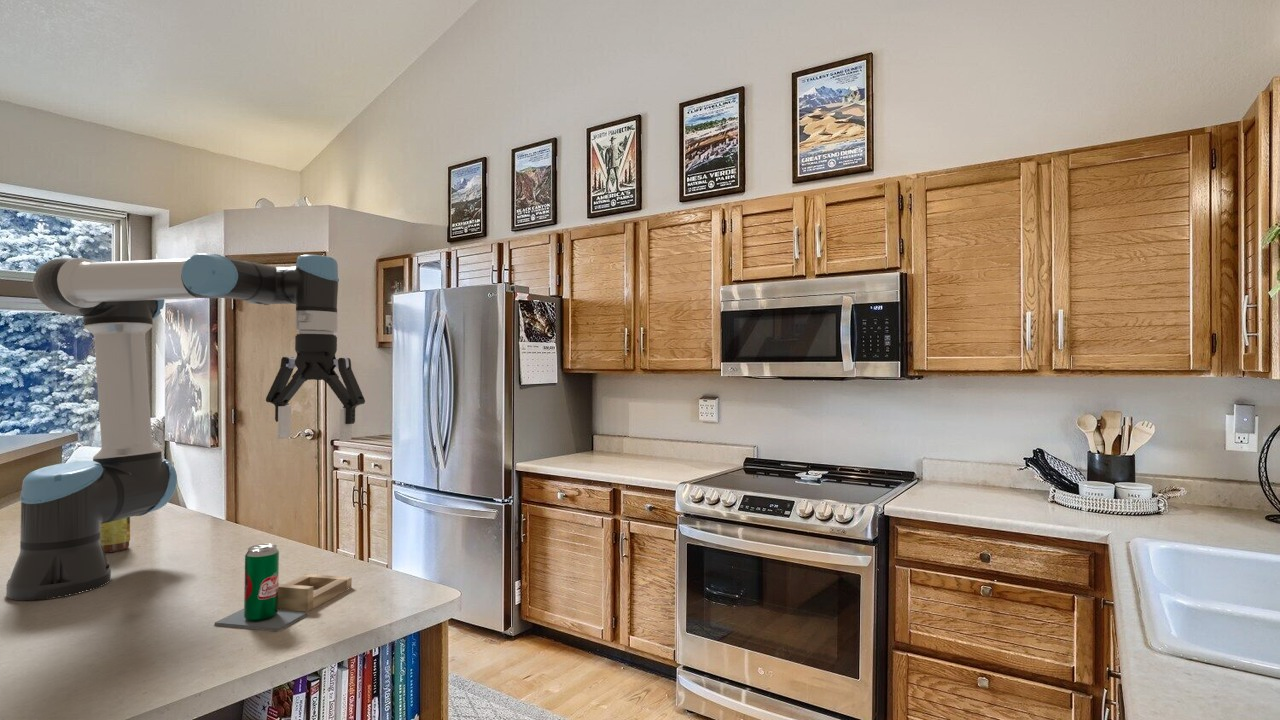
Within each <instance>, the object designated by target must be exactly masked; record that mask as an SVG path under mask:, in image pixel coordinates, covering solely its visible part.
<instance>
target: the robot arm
mask: <svg viewBox="0 0 1280 720" xmlns="http://www.w3.org/2000/svg"><path fill="white" fill-rule="evenodd" d="M338 265H339V264H338V260H336V259H335V258H333V257H331V256H327V255H320V254H303V255H298V256H297V258H296V263H295V265H294V266H272V265H267V264H264V263H263V264H261V263H257V262H252V261H246V260H241V259H237V258H233V257H232V258H231V257H227V256H224V255H221V254H216V253H215V254H214V253H202V252H201V253H195V254H192V256H191V257H187V258H185V257H184V258H167V259H163V258H161V259H147V260H146V259H145V260H123V261H104V262H103V261H97V260H96V261H95V260H92V259H89V258H85V257H60V258H55V259H51V260H48V261H46V262H44V263H43V264H42V265H41V266H39V267H38V269H37V270H36V272H35V274H34V275H33V279H32V289H33V291H34V294H35V296H36V297H37V299H38V301H40V302H41V303H42V304H43V305H44V306H46V307H47V308H48V309H50V310H52V311H55V312H56V313H60V314H63V315H67V316H68V315H69V316H75V317H76V316H77V317H83V328H84V329H85V330H86V331H88V332H89V333H90V334H92V335H93V338H94V354H95V369H96V381H97V396H98V397H97V398H98V399H97V400H98V413H99V415H98V416H99V424H100V425H99V427H100V442H101V449H100V450H99V451H98V452H97V453H96V454H95V455H94V456H92V457H93V458H92V460H80V461H78V460H77V461H70V462H66V463H65V462H64V463H57V464H56V463H55V464H53V465H48V466H45V467H40V468H38V469H36V470H33V471H30V472H29V473H28V474H27V475H26V476H25V477H24V479H22V485H21V491H20V496H19V500H20V502H21V503H20V505H21V506H20V537H19V538H20V541H19V542H20V546H19V555H18V557H17V559H16V561H15V564H14V567H13V569H12V571H11V574H10V576H9V577H10V578H9V579H8V580H7V582H6V588H5V589H6V592H5V595H6V597H7V598H9V599H10V600H14V599H16V600H15V601H36V600H35V599H41V600H48V599H47V598H50V599H54V598H53V597H57V598H59V597H58V596H63V597H66V596H65V595H69V594H73V595H76V594H75V593H78V594H80V593H79V592H82V591H86V590H89V591H91V590H90V589H92V590H94V589H93V588H95V589H97V588H96V587H98V588H99V586H100V587H102V586H101V585H103V584H105V583H106V584H108V583H109V582H110V581H111V580H110V579H112V578H111V577H112V568H111V566H110V564H109V562H108V559H107V556H106V553H104V550H103V548H102V546H101V542H100V529H101V524H103V523H107V522H112V521H116V520H120V519H124V518H128V517H130V518H132V517H138V516H139V517H141V516H144V515H146V514H149V513H151V512H155V511H157V510H160V509H162V508H163V507H164V506H166V505H167V504H168V502H169V501H170V500H171V499H172V498H173V496H174V494H175V492H176V489H177V485H178V474H177V471H176V468H175V467H174V466H172V463H171V461H169V460H168V459H165V458H163V457H162V456H163V455H162V452H163V451H162V449H161V448H160V447H158V446H157V445H155V444H154V443H153V437H152V436H153V433H152V422H151V421H152V420H151V408H150V407H151V406H150V392H149V391H150V390H149V389H150V388H149V378H148V377H149V376H148V363H147V348H146V337H145V335H146V334H147V332H149V331H150V330H151V329H152V328H153V325H154V324H153V320H154V319H156V318H157V317H158V316H160V314H161V310H163V309H164V305H165V300H183V299H232V300H239V301H245V302H248V303H250V304H254V305H255V304H256V305H265V306H266V305H267V306H268V305H284V304H285V305H288V304H289V305H290V304H293V305H295V331H297V332H298V333H296V335H295V336H294V345H295V346H294V350H295V352H296V357H293V356H282V358H281V360H280V367H279V370H278V372H277V374H276V376H275V378H274V380H273V382H272V385H271V387H270V389H269V391H268V393H267V395H266V397H265V402H266V403H269V404H273V405H274V407H275V408H274V409H275V410H274V411H275V412H274V414H275V415H274V421H275V422H276V423H277V440H283V439H290V438H291V428H292V427H291V425H292V424H291V417H292V405H290V403H289V402H290V401H291V399H292V398H293V397H294V396H295V395H296V393H297V392H298V391H299V389H300V388H301V387H302V386H303V385H304V383H305V382H307V381H312V380H314V381H324V382H325V383H326V384H327V385H328V386H329V387H330V389H331V390H332V392H333V393H334V395H335V396H336V397H337V398H338V400H339V401H340V402H341V405H343V406H342V407H340V408H339V442H347V441H352V425H353V424H355V422H356V408H357V407H358V406H360V405H364V404H365V403H366V399H365V398H364V395H363V392H362V390H361V388H360V385H359V383H358V381H357V379H356V376H355V374H354V372H353V370H352V361H351V358H350V357H339V358H337V357H336V353H337V350H338V336H337V335H336V334H335V333H337V332H338V294H339V292H338V291H339V281H340V278H339V268H338V267H339V266H338ZM295 367H296V369H297V370H296V371H295V372H294V373H293V371H294V368H295ZM336 368H337V369H338V373H339V374H340V376H339V375H338V373H336V371H335V369H336ZM340 377H341V380H342V381H341V380H340ZM290 378H291V379H290ZM108 581H109V582H108ZM107 582H108V583H107ZM106 584H105V585H106ZM103 586H104V585H103ZM86 592H87V591H86ZM82 593H83V592H82ZM69 596H70V595H69Z"/></svg>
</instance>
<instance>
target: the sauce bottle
mask: <svg viewBox="0 0 1280 720" xmlns="http://www.w3.org/2000/svg"><path fill="white" fill-rule="evenodd" d="M130 540H131V517H128V518H124V519H120V520H116V521H112V522H107V523H103V524H101V529H100V542H101V546H102V548H103V550H104V553H105V554H107V553H109V552H110V553H115V552H120V551H124V550H126V549H128V548H129V547H130Z"/></svg>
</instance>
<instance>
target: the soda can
mask: <svg viewBox="0 0 1280 720" xmlns="http://www.w3.org/2000/svg"><path fill="white" fill-rule="evenodd" d="M277 546H278V545H277V544H275V543H259V544H254V545H252V546H249V547H248V548H247V551H246V553H245V555H244V585H243V586H244V592H243V593H244V595H243V597H244V598H243V601H244V602H243V609H244V618H245V619H246V620H248V621H251V622H259V621H265V620H268V619H271V618H273V617H274V616H275V615H276V614H277V612H278V610H279V609H278V584H279V578H280V577H279V575H280V572H279V571H280V569H279V568H280V551H279V549H278V548H277Z"/></svg>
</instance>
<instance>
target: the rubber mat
mask: <svg viewBox="0 0 1280 720" xmlns="http://www.w3.org/2000/svg"><path fill="white" fill-rule="evenodd" d="M307 616H308V612H304V611H292V610H281V609H278V612H277V614H276V615H275V616H274V617H273V618H271V619H268V620H265V621H259V622H251V621H248V620H246V619H245V618H244V608H242V609H239V610H238V611H236V612H233V613H231V614H229V615H227V616H225V617H222V618H221V619H219V620H217V621H215V622H214V626H217V627H228V628H229V627H230V628H240V629H248V630H249V629H250V630H260V631H268V632H269V631H273V632H280V631H281V630H284V629H286V628H288V627H290V626H291V625H293V624H295V623H296V622H298V621H300V620H301V619H304V618H305V617H307Z"/></svg>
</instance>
